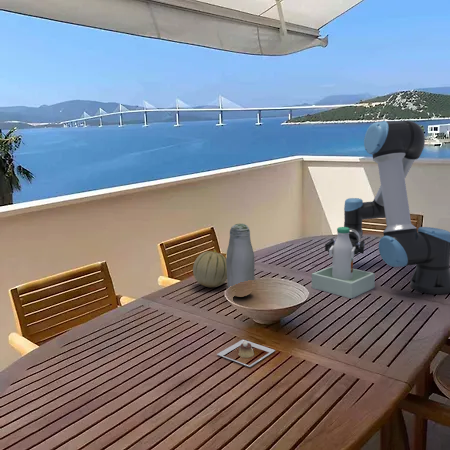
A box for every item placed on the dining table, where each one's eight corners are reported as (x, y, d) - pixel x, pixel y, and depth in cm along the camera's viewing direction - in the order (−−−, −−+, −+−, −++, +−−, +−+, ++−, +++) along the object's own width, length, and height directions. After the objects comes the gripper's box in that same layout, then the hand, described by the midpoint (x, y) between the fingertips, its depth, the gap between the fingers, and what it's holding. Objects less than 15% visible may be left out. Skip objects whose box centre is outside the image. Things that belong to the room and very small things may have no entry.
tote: (374, 287, 184) (374, 273, 183) (351, 298, 174) (351, 283, 173) (335, 278, 197) (335, 264, 196) (311, 287, 187) (311, 273, 186)
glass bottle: (245, 302, 174) (242, 228, 168) (222, 297, 180) (220, 225, 174) (259, 294, 181) (258, 223, 175) (238, 290, 187) (235, 220, 182)
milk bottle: (347, 282, 180) (348, 231, 176) (328, 278, 184) (329, 228, 180) (355, 276, 186) (357, 227, 182) (337, 273, 190) (338, 224, 186)
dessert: (242, 342, 143) (242, 327, 142) (275, 353, 135) (275, 338, 134) (216, 357, 134) (215, 342, 133) (250, 370, 127) (249, 354, 126)
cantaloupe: (188, 291, 188) (186, 254, 185) (201, 279, 202) (199, 245, 199) (224, 293, 184) (222, 256, 181) (234, 281, 197) (233, 246, 194)
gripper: (374, 249, 196) (368, 265, 175) (325, 246, 204) (313, 261, 183) (375, 232, 194) (369, 246, 174) (325, 229, 202) (314, 242, 181)
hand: (341, 254), depth 178 cm, fingers closed on milk bottle, 7 cm apart
